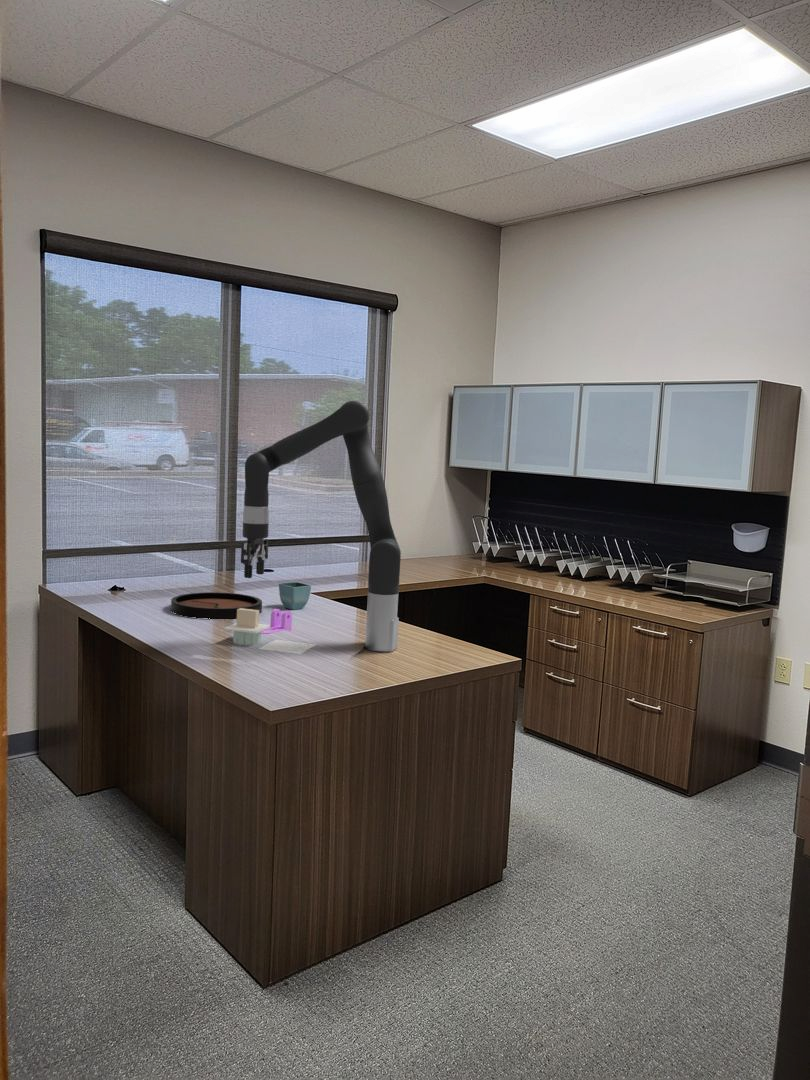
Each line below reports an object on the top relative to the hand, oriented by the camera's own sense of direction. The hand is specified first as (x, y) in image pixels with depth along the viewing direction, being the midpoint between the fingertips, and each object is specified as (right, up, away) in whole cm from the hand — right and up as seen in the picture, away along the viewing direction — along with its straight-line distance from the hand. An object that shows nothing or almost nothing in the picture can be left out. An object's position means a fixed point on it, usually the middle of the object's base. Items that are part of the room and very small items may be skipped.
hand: (254, 575), depth 251 cm
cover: (-2, -16, +1) cm, 16 cm away
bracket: (+2, -19, +19) cm, 27 cm away
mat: (+10, -22, -2) cm, 24 cm away
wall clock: (-22, -15, +49) cm, 56 cm away
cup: (-3, -21, +1) cm, 21 cm away
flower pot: (+4, -15, +61) cm, 63 cm away
